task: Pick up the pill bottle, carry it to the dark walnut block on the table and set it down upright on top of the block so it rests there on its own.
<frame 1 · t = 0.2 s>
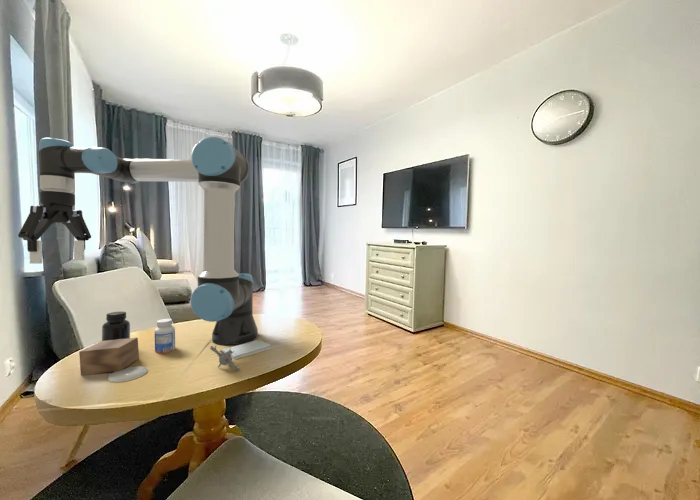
hand: (59, 261, 90), 28 cm above the table, fingers open, 13 cm apart
pill bottle: (165, 351, 92), on the table
grey coaster: (128, 376, 75), on the table
grey cross-shaped piece: (223, 369, 80), on the table
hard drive: (246, 352, 93), on the table
supplement bottle: (116, 352, 91), on the table
walnut block: (111, 366, 80), on the table, touching grey coaster
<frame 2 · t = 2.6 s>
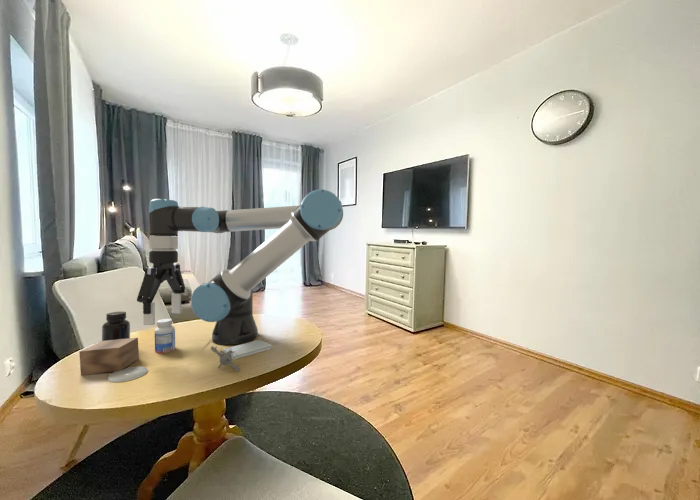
hand: (163, 318, 92), 10 cm above the table, fingers open, 13 cm apart
nothing on the table moved.
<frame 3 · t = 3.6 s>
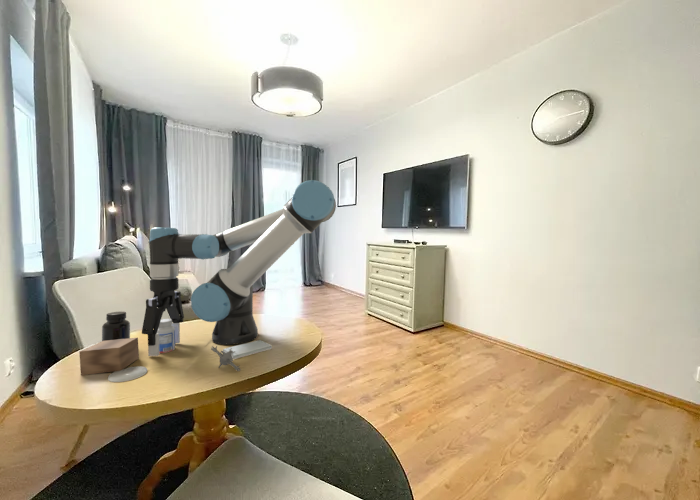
hand: (165, 348, 92), 1 cm above the table, fingers open, 10 cm apart
nothing on the table moved.
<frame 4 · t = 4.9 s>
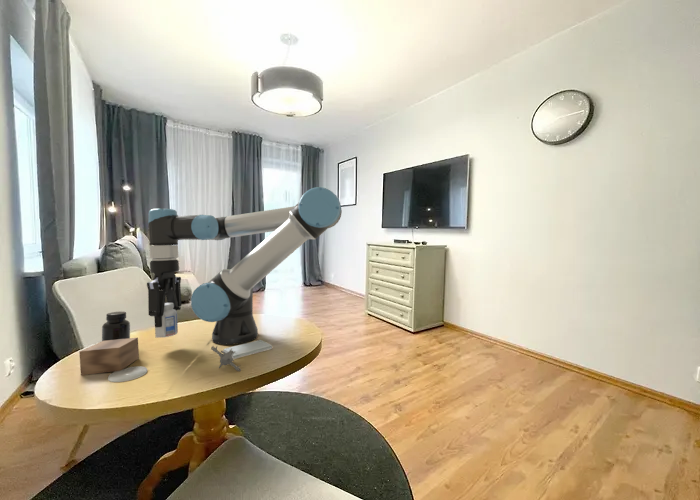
hand: (166, 333, 92), 5 cm above the table, fingers closed on pill bottle, 5 cm apart
pill bottle: (167, 335, 92), point 5 cm above the table, touching gripper
everything else where it was.
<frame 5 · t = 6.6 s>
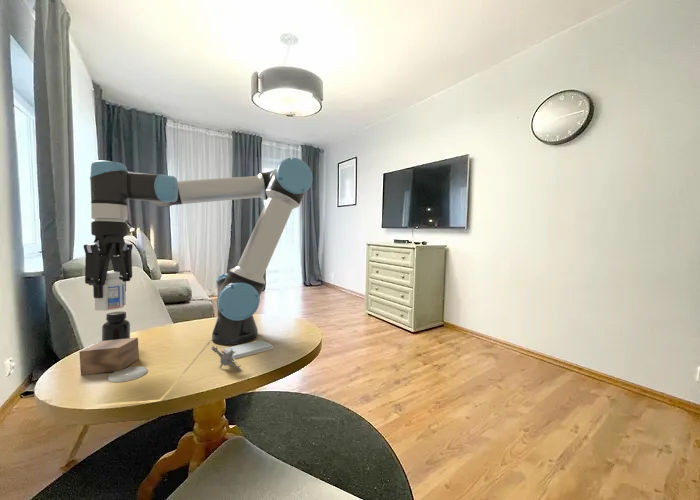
hand: (110, 307, 79), 16 cm above the table, fingers closed on pill bottle, 5 cm apart
pill bottle: (111, 309, 79), point 16 cm above the table, touching gripper
everything else where it was.
when the fingers open (7 cm above the table, at t = 8.4 s): pill bottle stays where it is, resting on walnut block.
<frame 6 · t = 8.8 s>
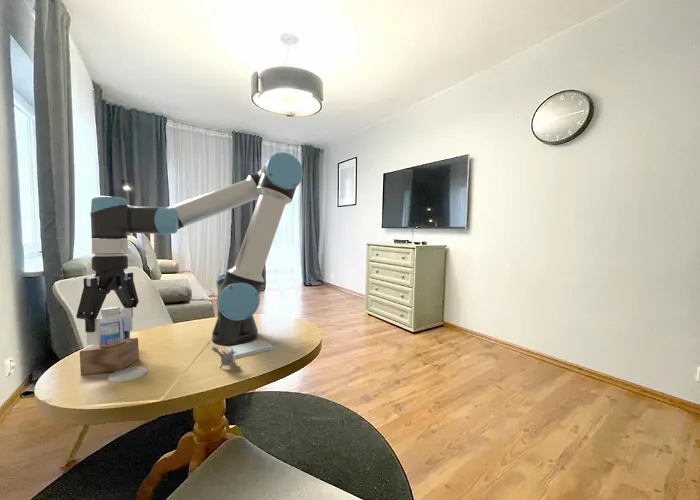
hand: (111, 336, 80), 8 cm above the table, fingers open, 10 cm apart
pill bottle: (112, 344, 80), point 6 cm above the table, touching walnut block
walnut block: (111, 366, 80), on the table, touching grey coaster, pill bottle
everything else where it was.
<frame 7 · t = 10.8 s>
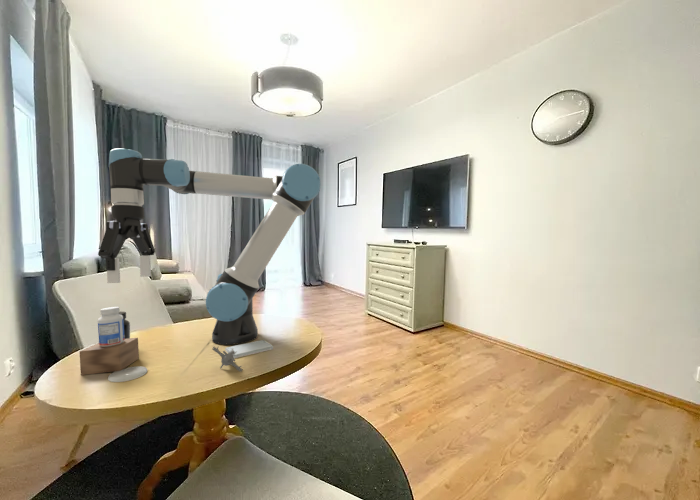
hand: (131, 279, 85), 23 cm above the table, fingers open, 13 cm apart
nothing on the table moved.
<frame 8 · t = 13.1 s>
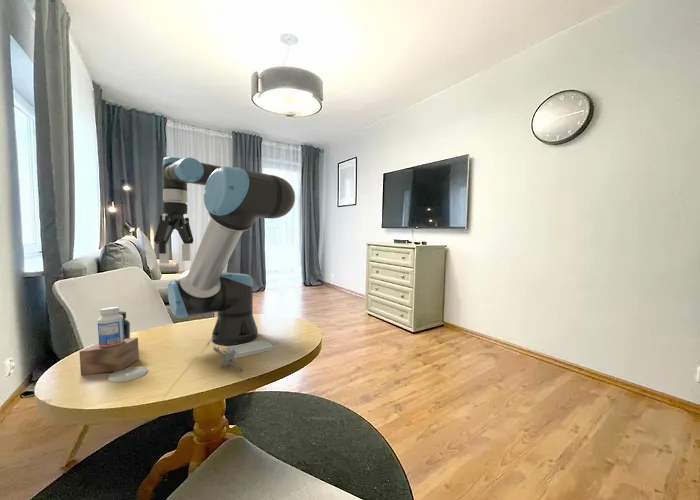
hand: (175, 262, 106), 27 cm above the table, fingers open, 13 cm apart
at the end: pill bottle 0.2 cm off-centre on the walnut block, point 5.8 cm above the walnut block's base; pill bottle tilted 4°; the gripper is holding nothing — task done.
